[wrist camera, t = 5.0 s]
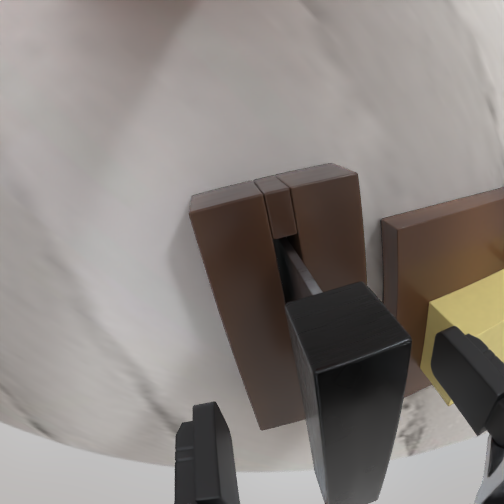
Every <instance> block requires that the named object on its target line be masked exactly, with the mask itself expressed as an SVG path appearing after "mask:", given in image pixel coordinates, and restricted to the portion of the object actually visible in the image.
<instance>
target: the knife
mask: <svg viewBox="0 0 504 504" xmlns="http://www.w3.org/2000/svg"><path fill="white" fill-rule="evenodd" d="M273 243H274V248H275V253H276V258H277V263H278V268H279V273H280V278H281V283H282V288H283V293H284V298H285V312H286V317H287V322H288V327H289V333H290V338H291V343H292V348H293V353H294V359H295V364H296V369H297V375H298V380H299V385H300V391H301V396H302V402H303V407H304V413H305V418H306V424H307V430H308V435H309V441H310V447H311V453H312V458H313V464H314V470H315V474H316V477H317V480H318V483H319V487H320V490H321V493H322V496H323V499H324V502H325V504H368V503H371V502H373V501H376V500H377V499H378V497H379V494H380V491H381V488H382V484H383V481H384V478H385V474H386V471H387V467H388V463H389V460H390V456H391V452H392V448H393V444H394V440H395V436H396V432H397V427H398V423H399V418H400V413H401V408H402V403H403V398H404V392H405V387H406V381H407V374H408V368H409V361H410V354H411V346H412V338H411V336H410V335H409V333H408V332H407V331H406V330H405V329H404V327H403V326H402V325H401V324H400V323H399V322H398V320H397V319H396V318H395V317H394V316H393V315H392V313H391V312H390V311H389V310H388V309H387V308H386V307H385V305H384V304H383V303H382V302H381V301H380V300H379V299H378V297H377V296H376V295H375V294H374V293H373V292H372V291H371V290H370V288H369V287H368V286H367V285H366V284H365V283H364V282H363V281H359V282H355V283H352V284H349V285H345V286H342V287H339V288H335V289H332V290H329V291H325V292H322V291H321V289H320V287H319V286H318V284H317V283H316V281H315V280H314V278H313V277H312V275H311V274H310V272H309V271H308V269H307V268H306V266H305V265H304V263H303V262H302V260H301V259H300V257H299V256H298V254H297V253H296V251H295V250H294V248H293V247H292V245H291V244H290V242H289V241H288V239H287V238H286V237H283V238H279V239H273Z"/></svg>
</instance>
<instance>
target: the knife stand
mask: <svg viewBox="0 0 504 504" xmlns="http://www.w3.org/2000/svg"><path fill="white" fill-rule="evenodd" d="M189 217H190V220H191V224H192V227H193V230H194V234H195V237H196V240H197V244H198V247H199V250H200V254H201V257H202V260H203V263H204V267H205V270H206V273H207V276H208V279H209V283H210V286H211V289H212V292H213V295H214V298H215V301H216V304H217V308H218V311H219V314H220V317H221V320H222V323H223V326H224V329H225V332H226V335H227V338H228V341H229V343H230V346H231V349H232V352H233V355H234V358H235V361H236V364H237V367H238V369H239V372H240V375H241V378H242V381H243V384H244V386H245V389H246V392H247V395H248V397H249V400H250V403H251V406H252V408H253V411H254V414H255V416H256V419H257V422H258V424H259V427H260V430H267V429H271V428H275V427H279V426H282V425H286V424H290V423H294V422H297V421H301V420H304V419H306V418H305V413H304V407H303V402H302V396H301V391H300V385H299V380H298V375H297V369H296V364H295V359H294V353H293V348H292V343H291V338H290V333H289V327H288V322H287V317H286V312H285V298H284V293H283V288H282V283H281V278H280V273H279V268H278V263H277V258H276V253H275V248H274V243H273V239H279V238H283V237H287V239H288V241H289V242H290V244H291V245H292V247H293V248H294V250H295V251H296V253H297V254H298V256H299V257H300V259H301V260H302V262H303V263H304V265H305V266H306V268H307V269H308V271H309V272H310V274H311V275H312V277H313V278H314V280H315V281H316V283H317V284H318V286H319V287H320V289H321V291H322V292H325V291H329V290H332V289H335V288H339V287H342V286H345V285H349V284H352V283H355V282H359V281H363V282H364V283H365V284H366V285H367V275H366V256H365V242H364V229H363V217H362V207H361V197H360V188H359V180H358V174H357V173H356V172H354V171H351V170H349V169H346V168H344V167H341V166H338V165H336V164H333V163H328V164H323V165H318V166H314V167H309V168H304V169H299V170H295V171H290V172H285V173H281V174H277V175H275V176H268V177H264V178H260V179H255V180H254V181H247V182H243V183H239V184H234V185H230V186H226V187H223V188H219V189H215V190H211V191H207V192H203V193H200V194H196V195H193V196H191V203H190V209H189Z"/></svg>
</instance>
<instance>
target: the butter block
mask: <svg viewBox="0 0 504 504" xmlns="http://www.w3.org/2000/svg"><path fill="white" fill-rule="evenodd" d="M451 326H456V327H458V328H459V329H460V330H461V331H462V332H463V333H464V334H465V335H466V334H468V333H469V334H471V335H473V336H475V337H477V338H479V339H480V340H481V341H482V342H483V343H484V344H485V345H486V346H487V347H488V349H489V350H491V351H492V352H493V353H494V354H495V356H497V357H498V358H499V359H500V360H501V361H502V362H503V363H504V269H502V270H500V271H498V272H496V273H494V274H492V275H490V276H488V277H486V278H484V279H481V280H479V281H477V282H475V283H473V284H470V285H468V286H466V287H464V288H461V289H459V290H457V291H454V292H452V293H450V294H447V295H445V296H443V297H440V298H438V299H435V300H433V301H430V302H429V308H428V317H427V325H426V333H425V340H424V347H423V353H422V359H421V365H420V369H421V370H422V371H423V373H424V374H425V375H426V377H427V378H428V379H429V381H430V382H431V383H432V385H433V386H434V387H435V389H436V390H437V391H438V393H439V394H440V395H441V397H442V398H443V400H444V401H445V402H446V404H447V405H448V406H450V405H452V404H454V402H453V401H452V400H451V398H450V397H449V395H448V394H447V393H446V391H445V390H444V389H443V387H442V386H441V385H440V383H439V382H438V381H437V379H436V378H435V377H434V375H433V373H432V370H431V357H432V352H433V346H434V340H435V336H436V334H437V333H438V332H440V331H443V330H445V329H447V328H449V327H451Z"/></svg>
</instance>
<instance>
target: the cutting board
mask: <svg viewBox="0 0 504 504" xmlns="http://www.w3.org/2000/svg"><path fill="white" fill-rule="evenodd" d="M381 225H382V243H383V277H384V305H385V307H386V308H387V309H388V310H389V311H390V312H391V313H392V315H393V316H394V317H395V318H396V319H397V320H398V322H399V323H400V324H401V325H402V326H403V327H404V329H405V330H406V331H407V332H408V333H409V335H410V336H411V338H412V346H411V354H410V361H409V368H408V374H407V381H406V387H405V392H404V397H407V396H409V395H411V394H413V393H415V392H418V391H420V390H422V389H424V388H426V387H428V386H430V385H432V383H431V382H430V381H429V379H428V378H427V377H426V375H425V374H424V373H423V371H422V370H421V369H420V365H421V359H422V353H423V347H424V340H425V333H426V325H427V317H428V308H429V302H430V301H433V300H435V299H438V298H440V297H443V296H445V295H447V294H450V293H452V292H454V291H457V290H459V289H461V288H464V287H466V286H468V285H470V284H473V283H475V282H477V281H479V280H481V279H484V278H486V277H488V276H490V275H492V274H494V273H496V272H498V271H500V270H502V269H504V187H503V188H499V189H495V190H491V191H487V192H483V193H479V194H476V195H472V196H468V197H464V198H460V199H456V200H452V201H448V202H445V203H441V204H437V205H433V206H429V207H425V208H421V209H417V210H413V211H410V212H406V213H402V214H398V215H394V216H390V217H386V218H382V219H381Z"/></svg>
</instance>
